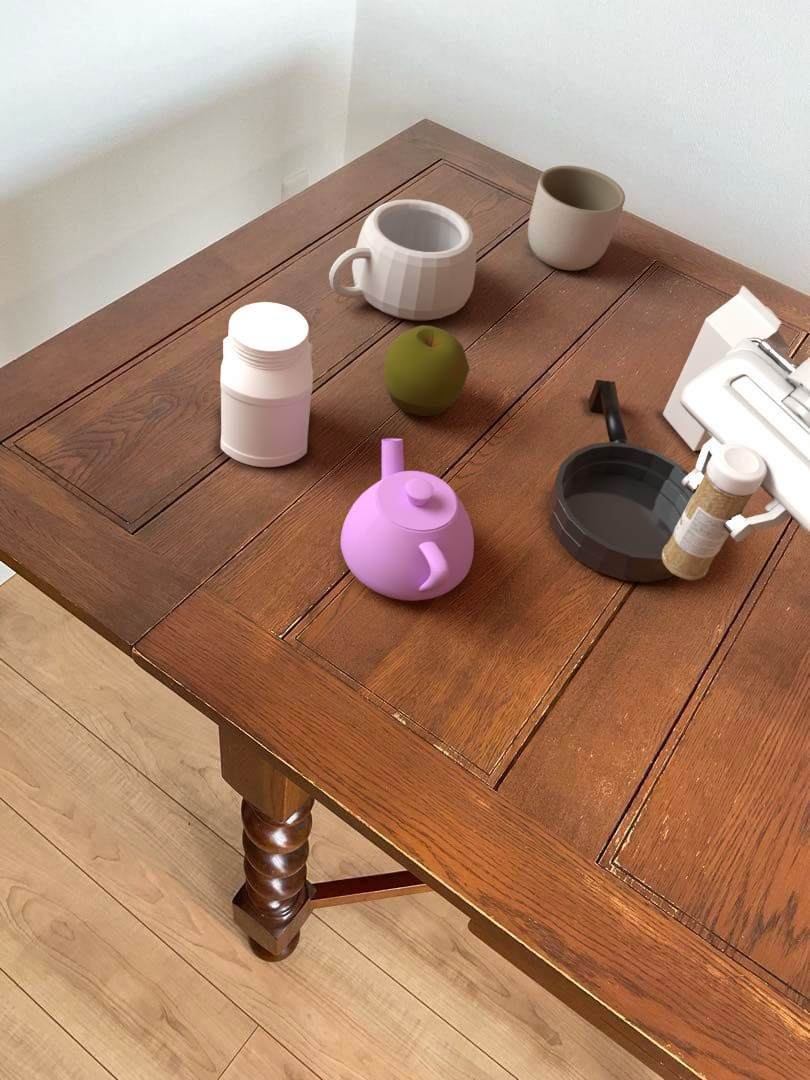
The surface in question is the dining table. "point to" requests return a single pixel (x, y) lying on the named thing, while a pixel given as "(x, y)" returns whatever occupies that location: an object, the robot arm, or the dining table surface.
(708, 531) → the spice bottle
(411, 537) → the teapot
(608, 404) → the pan handle
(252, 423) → the jar
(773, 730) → the dining table surface
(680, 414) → the milk carton
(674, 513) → the pan
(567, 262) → the planter
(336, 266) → the mug
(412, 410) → the apple
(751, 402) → the robot arm
